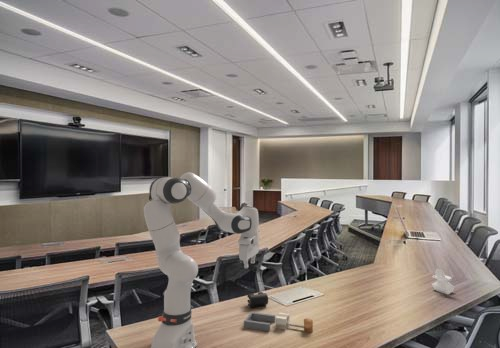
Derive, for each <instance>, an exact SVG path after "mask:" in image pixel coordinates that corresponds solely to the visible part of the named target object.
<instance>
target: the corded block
mask: <svg viewBox="0 0 500 348" xmlns="http://www.w3.org/2000/svg"><path fill="white" fill-rule="evenodd" d="M289 326H290V327H296V328H302V329H303V332H304V333H306V334H311V333H313V332H314V330H313V329H314V328H313V327H314V320H313V319H312V318H309V317H308V318H304V319H303V325H301V324H297V323H291V322H290V313H284V312H278V314H277V315H275V329H280V330H283V331H286V330H288V327H289Z"/></svg>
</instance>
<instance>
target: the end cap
mask: <svg viewBox="0 0 500 348" xmlns="http://www.w3.org/2000/svg"><path fill="white" fill-rule="evenodd" d="M246 297H247V298H248V299H247V303H248V304H247V306H248V307H249V308H250V309H251V308H252V309H253V308H259V307H265V306H267V305H268V304H269V297H268V294H267V293H266V292H262V291H260V292H257V293H256V294H254V293H253V292H252V293H248V294H247V296H246Z"/></svg>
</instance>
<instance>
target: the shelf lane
mask: <svg viewBox="0 0 500 348" xmlns="http://www.w3.org/2000/svg"><path fill="white" fill-rule="evenodd" d="M275 317H276V314H271V313H270V314H269V313H262V312H255V311H251V312H250V313H249V314H248V315H247V317H246V318H245V319H244V321H243V327H244V328H245V329H246V328H247V329H253V330H260V331H266V332H271V323H276V320H275Z"/></svg>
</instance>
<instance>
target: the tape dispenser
mask: <svg viewBox="0 0 500 348" xmlns="http://www.w3.org/2000/svg"><path fill="white" fill-rule="evenodd" d="M434 274H435V275H432V276H431V277H432V278H433V279H436V281H434V282H432V283H431V285H432V287H433V290H434V291H437V292H439V293H442V294H444V295H450V294H452V293H453V291H454V290H455V288H456V287H455V286H454V285H453V284H452V283H450V282H452V281H453V280H452V277H451V276H449V275H446V274H445V272H444V270H443V269H439V268H436V269H435V272H434Z"/></svg>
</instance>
